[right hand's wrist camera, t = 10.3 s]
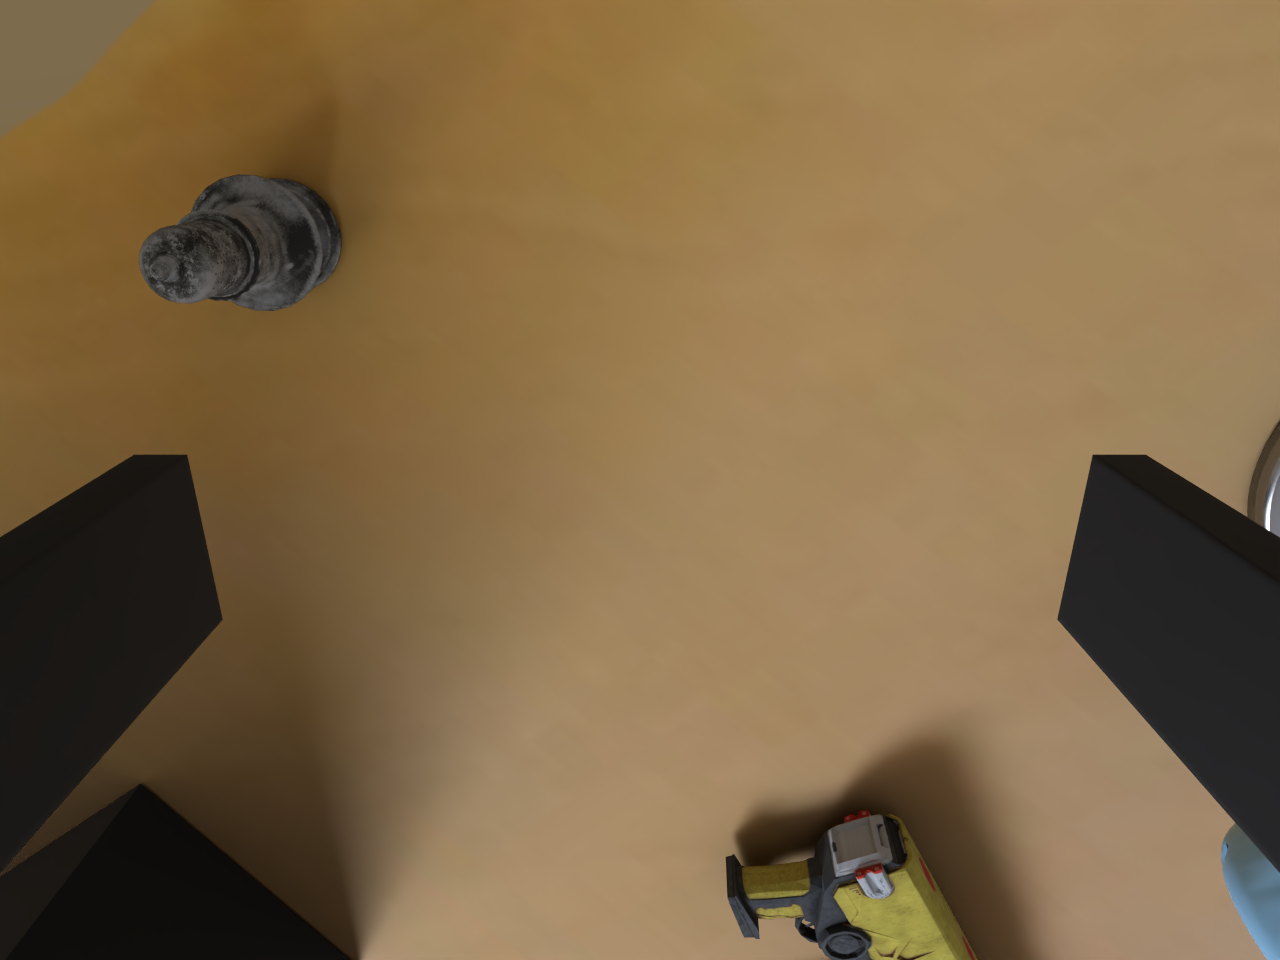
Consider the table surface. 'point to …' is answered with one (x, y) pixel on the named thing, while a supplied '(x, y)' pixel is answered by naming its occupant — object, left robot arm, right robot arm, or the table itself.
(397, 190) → the table surface
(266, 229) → the grey tiered upright piece
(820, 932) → the toy gun
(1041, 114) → the table surface
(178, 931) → the cardboard box
